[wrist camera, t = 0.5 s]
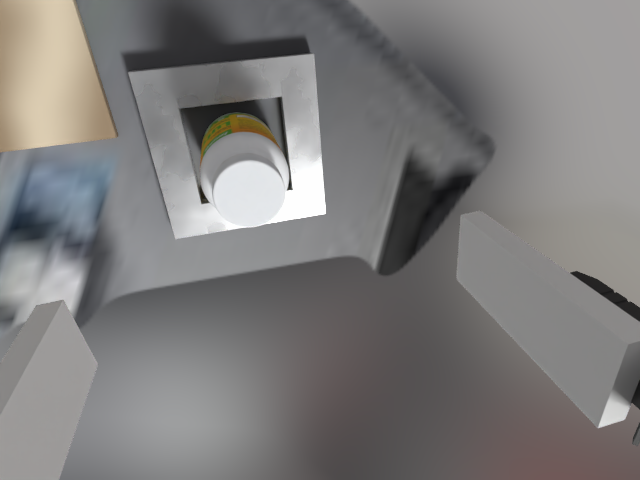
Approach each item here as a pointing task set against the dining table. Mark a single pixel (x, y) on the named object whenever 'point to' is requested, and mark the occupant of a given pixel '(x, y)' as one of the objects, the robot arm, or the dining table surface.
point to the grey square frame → (225, 87)
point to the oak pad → (48, 78)
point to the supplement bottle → (243, 170)
